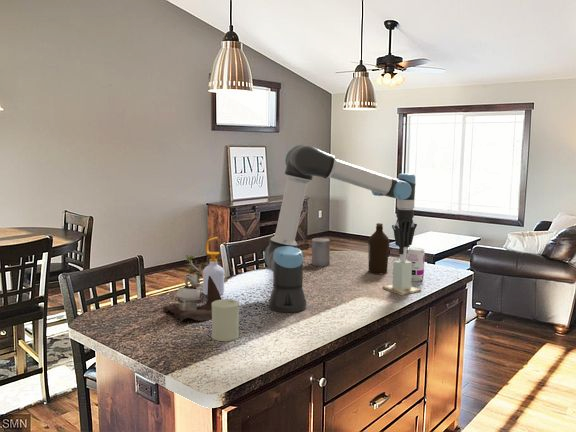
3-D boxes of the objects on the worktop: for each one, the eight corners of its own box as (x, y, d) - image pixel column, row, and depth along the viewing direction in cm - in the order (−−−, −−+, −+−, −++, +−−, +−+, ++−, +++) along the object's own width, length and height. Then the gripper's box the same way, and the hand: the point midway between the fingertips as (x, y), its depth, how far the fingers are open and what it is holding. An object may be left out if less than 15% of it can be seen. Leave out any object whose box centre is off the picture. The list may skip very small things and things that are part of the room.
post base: (400, 295, 226) (401, 277, 225) (382, 288, 237) (383, 271, 236) (421, 291, 233) (422, 274, 231) (402, 285, 243) (403, 268, 242)
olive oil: (389, 270, 271) (391, 222, 267) (386, 275, 261) (388, 225, 257) (369, 268, 274) (371, 221, 271) (365, 273, 264) (367, 224, 261)
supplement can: (421, 277, 257) (423, 247, 255) (424, 281, 249) (426, 251, 247) (405, 276, 258) (406, 247, 256) (407, 281, 250) (408, 250, 248)
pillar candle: (320, 261, 289) (321, 234, 287) (333, 264, 282) (333, 237, 280) (307, 263, 283) (308, 236, 281) (320, 267, 276) (320, 239, 274)
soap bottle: (222, 296, 221) (222, 239, 217) (201, 296, 221) (200, 239, 218) (225, 290, 230) (225, 235, 226) (205, 290, 230) (204, 235, 226)
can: (244, 336, 176) (244, 301, 174) (224, 343, 169) (223, 307, 168) (226, 329, 182) (226, 296, 181) (205, 336, 175) (205, 301, 174)
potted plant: (159, 317, 201) (169, 253, 204) (203, 321, 211) (212, 259, 215) (181, 323, 184) (191, 253, 188) (227, 327, 195) (236, 260, 199)
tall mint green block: (401, 290, 231) (402, 263, 229) (392, 287, 236) (393, 261, 234) (411, 288, 233) (412, 262, 232) (402, 285, 238) (403, 259, 237)
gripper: (410, 207, 236) (407, 258, 239) (388, 208, 229) (386, 261, 233) (422, 209, 230) (419, 261, 233) (400, 210, 223) (397, 264, 226)
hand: (402, 261), depth 233 cm, fingers closed
